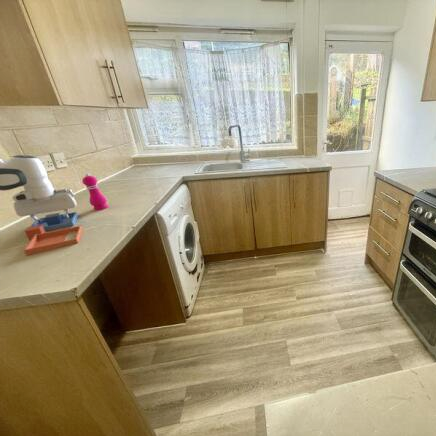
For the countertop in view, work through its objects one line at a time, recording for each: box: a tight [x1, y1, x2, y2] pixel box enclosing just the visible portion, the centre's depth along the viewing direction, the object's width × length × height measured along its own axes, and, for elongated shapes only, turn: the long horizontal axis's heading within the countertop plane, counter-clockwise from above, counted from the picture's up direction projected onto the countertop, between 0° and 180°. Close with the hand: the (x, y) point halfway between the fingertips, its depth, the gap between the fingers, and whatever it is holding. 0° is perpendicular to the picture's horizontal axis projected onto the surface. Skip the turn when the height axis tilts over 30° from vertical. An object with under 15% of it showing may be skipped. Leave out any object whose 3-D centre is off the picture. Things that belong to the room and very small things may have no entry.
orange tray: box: [23, 225, 83, 257], centre depth 99 cm, size 15×15×2 cm
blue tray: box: [29, 211, 79, 232], centre depth 115 cm, size 15×15×2 cm
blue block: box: [45, 212, 63, 226], centre depth 114 cm, size 4×4×4 cm
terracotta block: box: [24, 225, 46, 241], centre depth 103 cm, size 4×4×4 cm
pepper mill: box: [82, 172, 109, 211], centre depth 130 cm, size 7×7×20 cm
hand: (53, 220), depth 114 cm, fingers open, 8 cm apart
